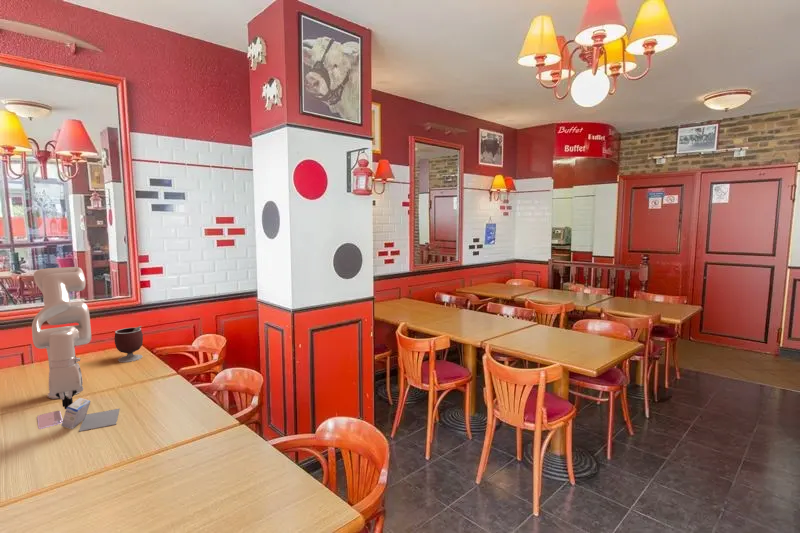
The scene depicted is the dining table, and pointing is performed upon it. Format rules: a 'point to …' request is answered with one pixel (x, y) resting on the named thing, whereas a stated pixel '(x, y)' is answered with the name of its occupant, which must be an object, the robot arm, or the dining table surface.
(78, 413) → the medicine box
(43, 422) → the mobile phone
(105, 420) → the mat
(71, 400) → the robot arm
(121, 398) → the dining table surface
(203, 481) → the dining table surface
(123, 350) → the mate gourd
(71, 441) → the dining table surface
